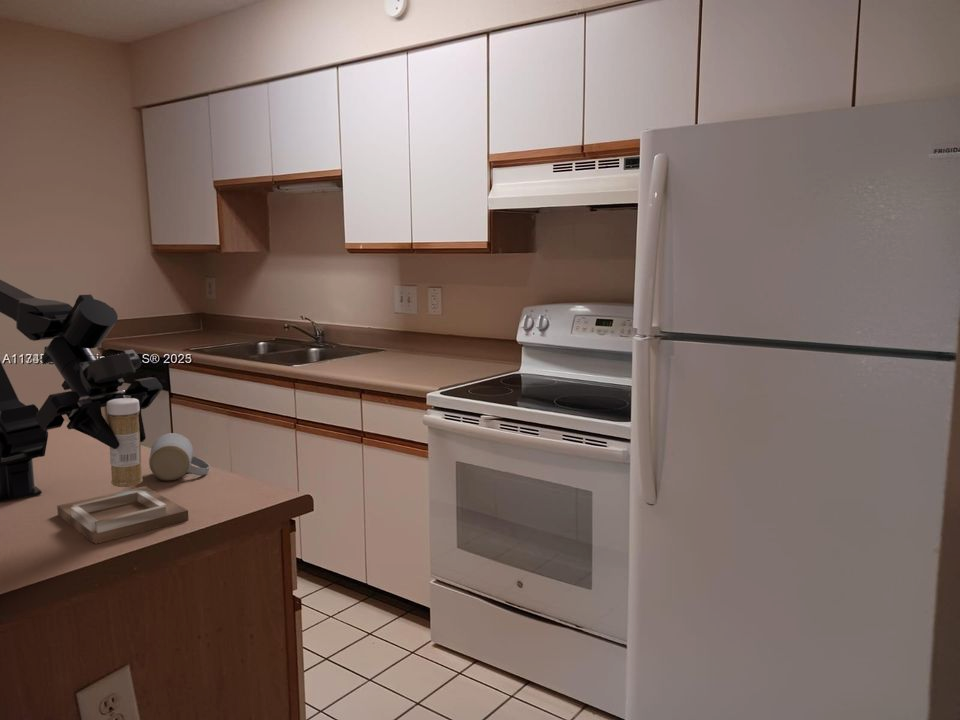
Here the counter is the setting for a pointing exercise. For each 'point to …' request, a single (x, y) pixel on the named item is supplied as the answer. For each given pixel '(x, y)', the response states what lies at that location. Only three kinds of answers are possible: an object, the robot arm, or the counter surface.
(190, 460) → the ceramic mug
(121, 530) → the socket board
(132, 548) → the counter surface
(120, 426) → the sprinkles bottle
